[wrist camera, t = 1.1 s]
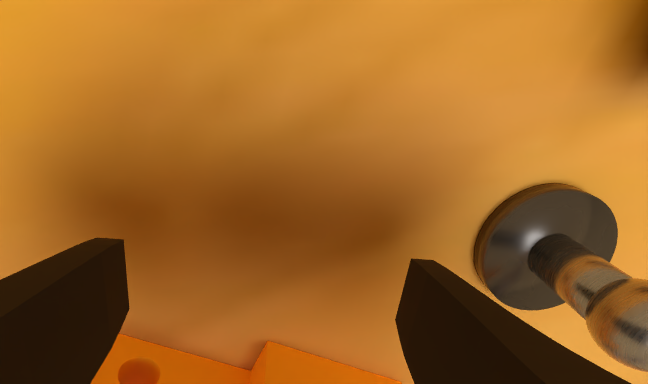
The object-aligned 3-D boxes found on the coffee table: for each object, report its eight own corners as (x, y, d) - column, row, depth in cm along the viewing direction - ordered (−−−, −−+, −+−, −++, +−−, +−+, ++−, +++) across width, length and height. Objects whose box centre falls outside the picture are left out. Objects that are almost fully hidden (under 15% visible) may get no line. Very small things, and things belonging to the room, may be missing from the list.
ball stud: (569, 300, 15) (718, 430, 10) (458, 294, 14) (555, 430, 9) (621, 189, 13) (835, 277, 8) (497, 177, 12) (643, 264, 7)
